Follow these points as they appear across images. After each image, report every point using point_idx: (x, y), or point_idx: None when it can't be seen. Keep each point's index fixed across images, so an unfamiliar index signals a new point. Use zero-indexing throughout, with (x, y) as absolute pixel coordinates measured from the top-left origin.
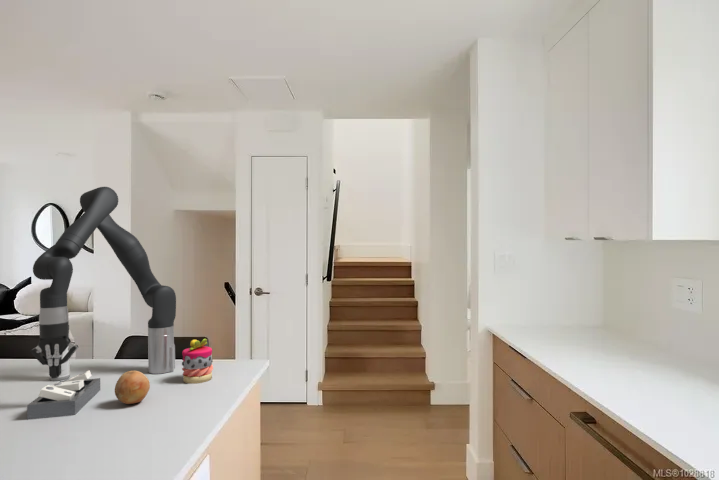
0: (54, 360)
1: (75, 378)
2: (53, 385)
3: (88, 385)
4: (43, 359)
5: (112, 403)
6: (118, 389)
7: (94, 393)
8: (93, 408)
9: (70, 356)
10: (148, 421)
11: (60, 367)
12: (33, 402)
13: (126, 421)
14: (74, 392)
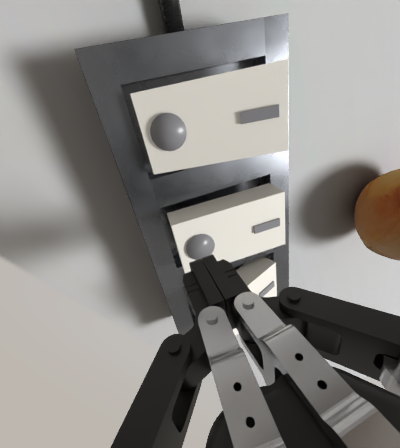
0: (229, 333)
1: (234, 158)
2: (188, 257)
3: (275, 158)
4: (192, 406)
5: (325, 201)
6: (386, 256)
7: None
8: (292, 237)
9: (338, 307)
10: (387, 282)
11: (245, 290)
12: (185, 329)
13: (359, 287)
14: (275, 268)
